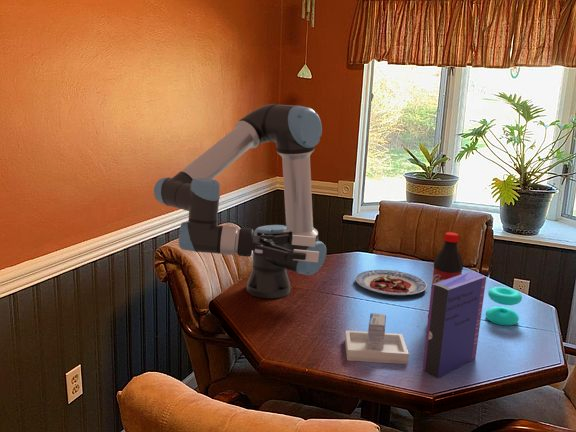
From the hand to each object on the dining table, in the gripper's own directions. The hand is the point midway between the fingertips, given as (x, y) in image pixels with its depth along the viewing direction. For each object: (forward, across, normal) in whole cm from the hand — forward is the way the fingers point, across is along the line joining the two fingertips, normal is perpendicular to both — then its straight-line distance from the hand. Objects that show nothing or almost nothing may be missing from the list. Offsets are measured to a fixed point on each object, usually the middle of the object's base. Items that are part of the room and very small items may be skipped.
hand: (316, 249), depth 151 cm
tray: (+19, +3, -27) cm, 33 cm away
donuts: (+64, -21, -24) cm, 72 cm away
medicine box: (+19, +3, -26) cm, 32 cm away
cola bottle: (+42, -14, -26) cm, 51 cm away
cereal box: (+38, +9, -26) cm, 47 cm away
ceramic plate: (+33, -49, -27) cm, 65 cm away
